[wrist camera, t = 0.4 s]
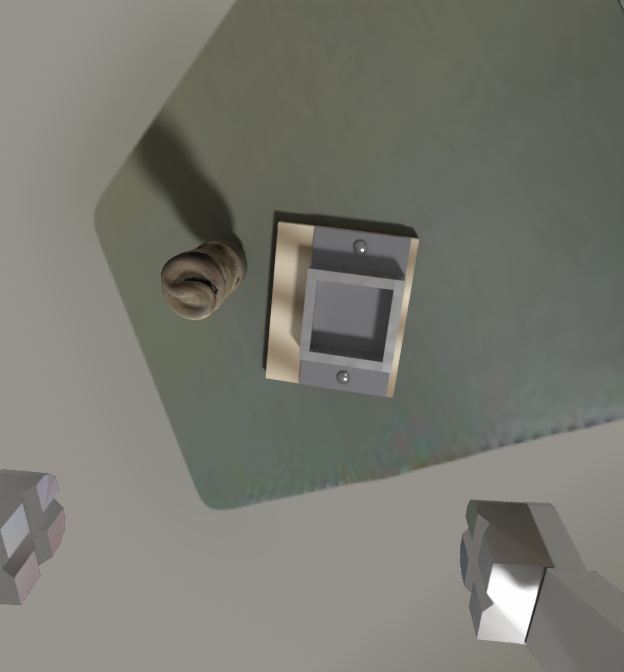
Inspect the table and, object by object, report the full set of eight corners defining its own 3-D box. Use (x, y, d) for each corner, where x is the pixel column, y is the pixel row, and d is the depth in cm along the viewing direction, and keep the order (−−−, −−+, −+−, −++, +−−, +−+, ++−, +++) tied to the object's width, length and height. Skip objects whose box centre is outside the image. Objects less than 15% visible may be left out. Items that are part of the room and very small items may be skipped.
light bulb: (265, 281, 57) (223, 320, 43) (216, 288, 58) (160, 328, 44) (254, 228, 55) (208, 250, 41) (205, 236, 56) (142, 260, 42)
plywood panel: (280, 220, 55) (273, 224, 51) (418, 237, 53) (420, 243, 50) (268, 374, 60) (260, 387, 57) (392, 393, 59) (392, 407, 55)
